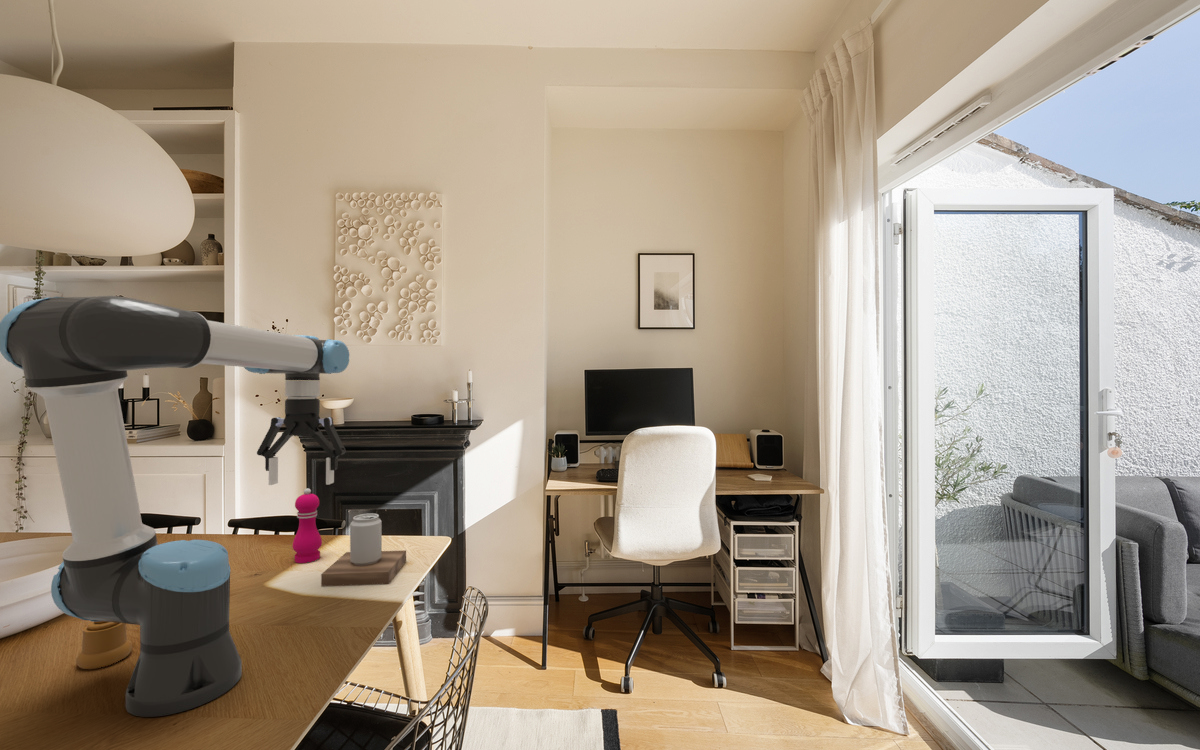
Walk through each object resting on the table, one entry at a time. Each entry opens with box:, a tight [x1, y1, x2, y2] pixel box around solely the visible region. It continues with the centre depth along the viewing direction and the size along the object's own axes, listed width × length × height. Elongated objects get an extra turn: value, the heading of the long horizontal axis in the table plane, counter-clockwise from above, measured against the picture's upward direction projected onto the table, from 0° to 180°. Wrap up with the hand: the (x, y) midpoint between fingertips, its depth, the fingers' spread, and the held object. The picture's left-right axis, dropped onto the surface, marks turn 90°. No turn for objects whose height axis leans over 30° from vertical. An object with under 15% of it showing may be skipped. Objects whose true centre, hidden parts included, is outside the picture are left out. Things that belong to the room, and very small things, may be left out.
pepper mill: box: [292, 487, 323, 564], centre depth 149 cm, size 7×7×20 cm
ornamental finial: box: [75, 621, 133, 670], centre depth 97 cm, size 8×8×8 cm
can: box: [349, 512, 383, 566], centre depth 139 cm, size 8×8×12 cm
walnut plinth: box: [320, 549, 407, 587], centre depth 139 cm, size 16×16×3 cm
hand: (301, 484), depth 131 cm, fingers open, 13 cm apart
